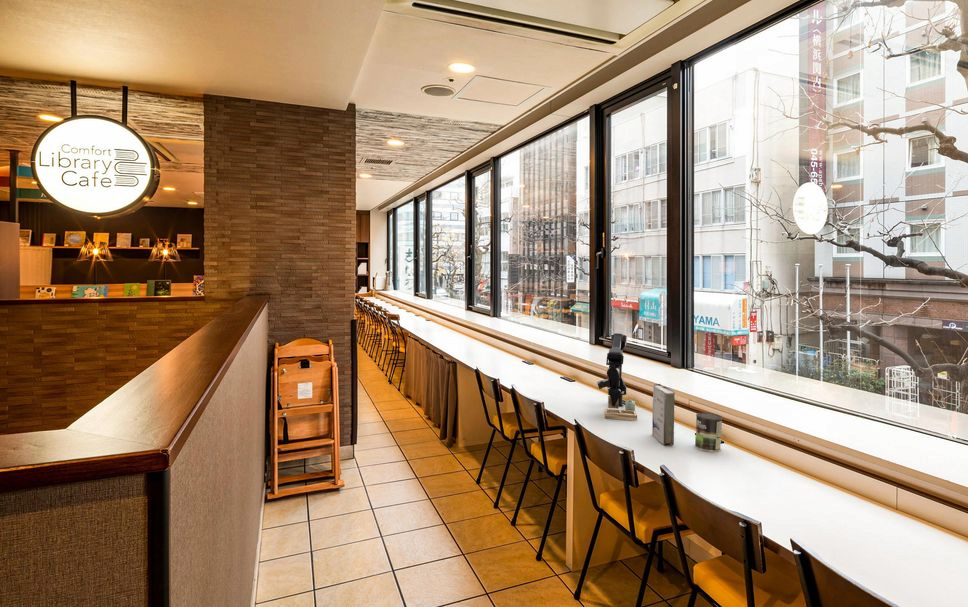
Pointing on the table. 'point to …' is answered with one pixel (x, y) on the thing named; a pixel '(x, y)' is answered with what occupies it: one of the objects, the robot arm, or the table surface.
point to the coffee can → (708, 432)
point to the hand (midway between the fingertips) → (613, 404)
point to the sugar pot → (630, 405)
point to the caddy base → (620, 414)
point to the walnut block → (611, 403)
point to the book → (663, 414)
